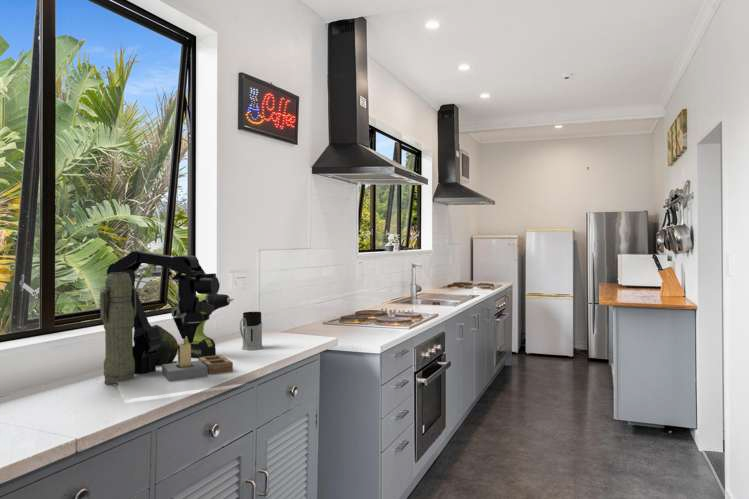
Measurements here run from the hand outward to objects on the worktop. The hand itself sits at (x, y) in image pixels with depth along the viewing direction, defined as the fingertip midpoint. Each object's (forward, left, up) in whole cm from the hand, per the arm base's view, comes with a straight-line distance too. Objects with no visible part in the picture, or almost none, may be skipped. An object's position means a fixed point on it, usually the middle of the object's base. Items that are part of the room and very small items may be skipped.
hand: (187, 340), depth 181 cm
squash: (-6, +25, -12) cm, 29 cm away
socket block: (-1, -1, -12) cm, 12 cm away
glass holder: (+32, +35, -12) cm, 49 cm away
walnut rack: (+10, +3, -12) cm, 16 cm away
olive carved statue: (-20, +5, -12) cm, 24 cm away
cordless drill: (+14, +29, -12) cm, 34 cm away
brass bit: (-1, -1, -11) cm, 11 cm away
